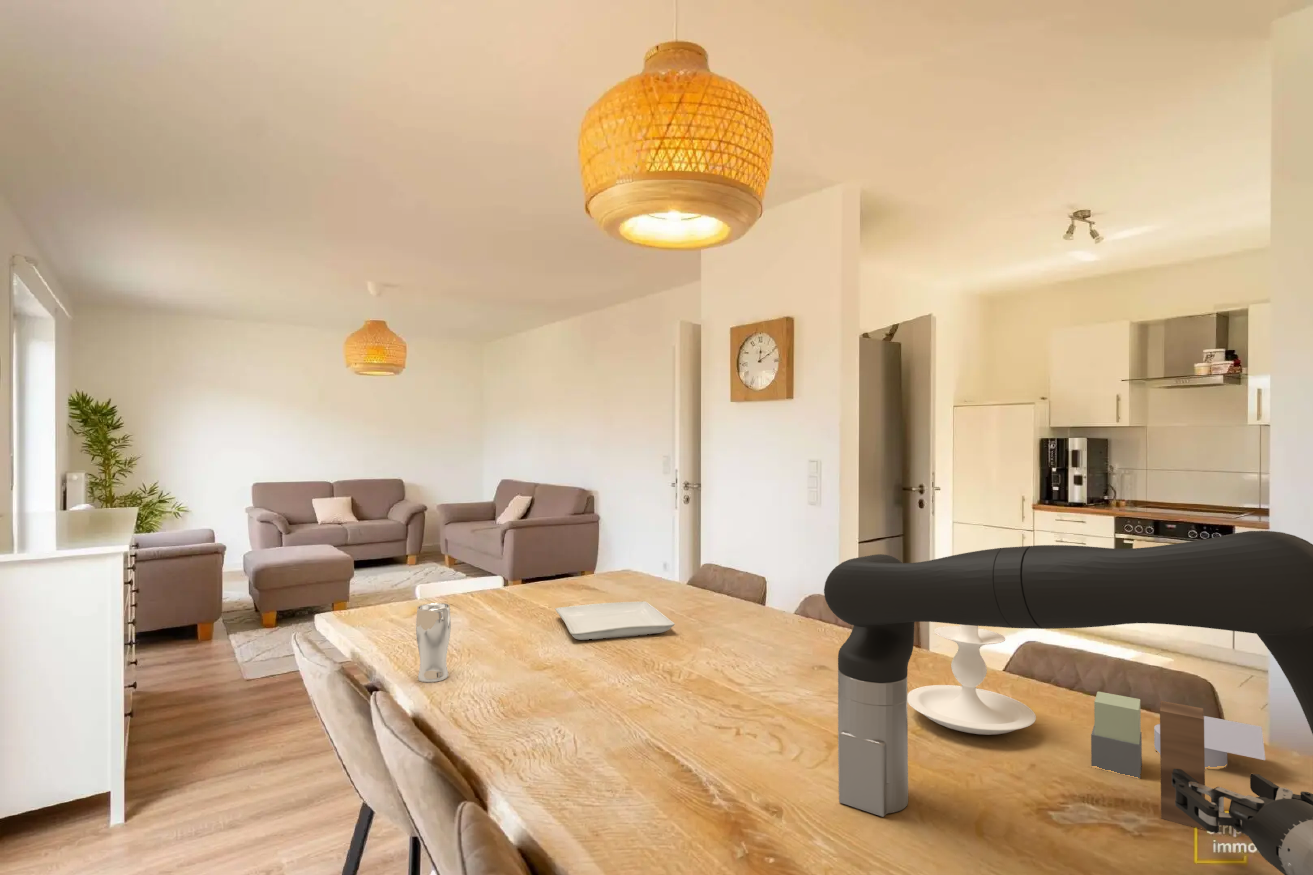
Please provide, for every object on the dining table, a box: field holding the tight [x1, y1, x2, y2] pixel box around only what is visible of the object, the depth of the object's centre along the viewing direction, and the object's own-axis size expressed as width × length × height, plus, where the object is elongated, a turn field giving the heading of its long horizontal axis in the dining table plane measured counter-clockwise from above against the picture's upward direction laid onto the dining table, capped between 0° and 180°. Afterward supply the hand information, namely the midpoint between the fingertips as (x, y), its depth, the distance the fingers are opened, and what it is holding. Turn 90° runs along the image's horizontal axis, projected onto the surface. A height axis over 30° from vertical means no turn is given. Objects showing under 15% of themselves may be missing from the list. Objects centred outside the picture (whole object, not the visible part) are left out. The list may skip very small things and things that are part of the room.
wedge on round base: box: [1153, 715, 1266, 767], centre depth 105 cm, size 9×7×13 cm
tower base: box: [1090, 723, 1143, 779], centre depth 103 cm, size 6×6×5 cm
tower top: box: [1093, 691, 1142, 744], centre depth 103 cm, size 6×6×5 cm
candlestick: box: [907, 625, 1037, 736], centre depth 121 cm, size 21×25×28 cm
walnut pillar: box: [1159, 700, 1206, 830], centre depth 89 cm, size 4×4×14 cm
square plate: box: [554, 600, 676, 641], centre depth 183 cm, size 27×27×4 cm
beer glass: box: [415, 602, 452, 683], centre depth 142 cm, size 7×7×15 cm
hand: (1214, 778), depth 83 cm, fingers open, 8 cm apart
